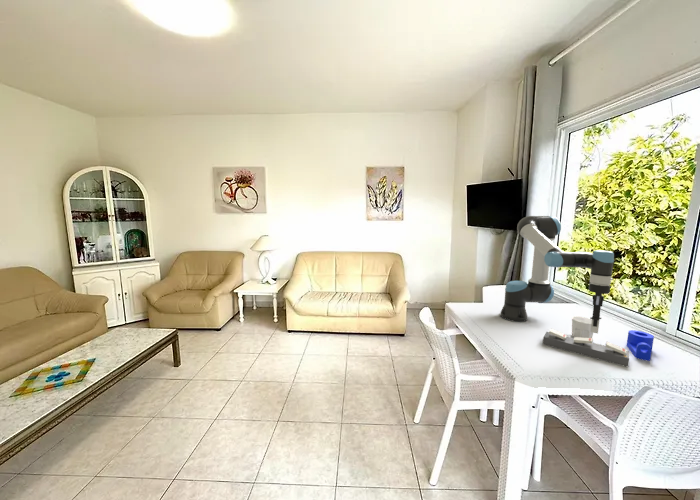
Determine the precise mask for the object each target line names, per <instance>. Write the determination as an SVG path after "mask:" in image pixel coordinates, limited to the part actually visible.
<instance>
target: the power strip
mask: <svg viewBox="0 0 700 500" xmlns="http://www.w3.org/2000/svg"><path fill="white" fill-rule="evenodd" d="M549 332H550V331H546V332H545V334H544V336H543V338H542V345H543V346H548V347H552V348H555V349H559V350H562V351H567V352H571V353H574V354H577V355H582V356H586V357H588V358H593V359H597V360H601V361H604V362H607V363H610V364H611V363H612V364H615V365H619V366H622V365H624V366H623V367H626V366H628V367H629V364H630V363H629V361H630V352H629V351H630V350H629V351H628V350H626V354H625V355H624V354H622V353H619V352H617V351H614V350H612V349H609V348H607V347H605V346H606V344H604V345H603V344H601V343H600V344H599V343H595V342H593V343H592V344H590V343H576V342H574V337H572V336H566V339H565V340H564V339H561V338H559V337H557V336H554V335H552V334H550V333H549Z"/></svg>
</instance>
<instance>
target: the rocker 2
mask: <svg viewBox="0 0 700 500" xmlns="http://www.w3.org/2000/svg"><path fill="white" fill-rule="evenodd" d="M573 338H574V337H573ZM574 342H576V343H590V344H592V343H594V339H593V337H592V338H581V337H575V338H574Z"/></svg>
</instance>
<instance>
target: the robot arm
mask: <svg viewBox="0 0 700 500" xmlns="http://www.w3.org/2000/svg"><path fill="white" fill-rule="evenodd" d="M516 231H517V232H518V234H519V235H520V236H521V238H523V239H527V241H528V242H529V243H531V245H533V259H532V268H531V278H529V279H528V281H525V280H524V281H523V280H510V281H507V283H506V284H505V288H504V289H505V290H504V291H505V292H504V303H503V304H504V305H502V308H501V310H500V317H501V318H503V319H504V320H508V321H510V322H519V323H521V322H526V321H528V313H527V309H526V303H539V304H542V303H549V302H551V300H552V299H553V298H554V295H555V289H554V287H553V285H552V284H551V282H550V280H549V272H550V268H551V267H552V268H585V269H589V270H590V275H589V284H588V291H589V292H591V293H595V294H592V305H593V307H592V315H591V316H592V317H591V316H590V317H589V319H592V323H591V332H593V334H599V328H600V327H599V326H600V320H602V317H601V308H602V307H603V302H604V299H605V296H604V295H608V294H610V293H611V285H612V284H611V283H612V281H613V280H614V278H613V277H612V276H613V271H614V263H615V253H614V252H613V251H610V250H602V249H601V250H600V249H599V250H598V249H596V250H593V252H592V253H591V252H587V251H573V252H572V251H563V250H562V249H561V248H559V247H558V246H557V245H556V244H555V243H554V242H553V241H554V240H555V239H556V236H558V235H559V234H560V233H561V231H562V224H561V221H560V220H559V218H557V217H556V216H553V215H552V216H551V215H528V216H525V217H523V218H521V219H520V220H519V221H518V223H517V227H516Z"/></svg>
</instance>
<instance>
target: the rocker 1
mask: <svg viewBox="0 0 700 500" xmlns="http://www.w3.org/2000/svg"><path fill="white" fill-rule="evenodd" d="M548 332H549V333H550V334H552V335H554V336H557V337H559V338H561V339H564V340H565V339H566V336H567V334H565V333H563V332H560V331H558V330H555V329H553V328H550V330H549V331H548ZM567 337H568V336H567Z"/></svg>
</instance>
